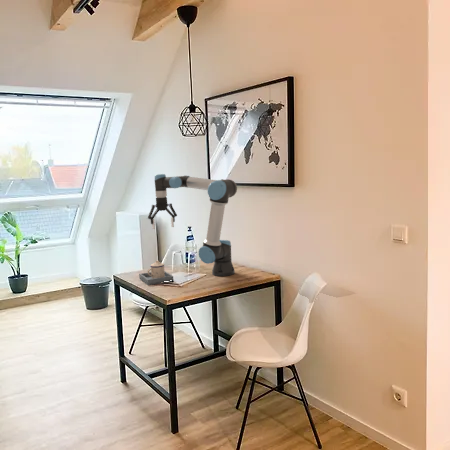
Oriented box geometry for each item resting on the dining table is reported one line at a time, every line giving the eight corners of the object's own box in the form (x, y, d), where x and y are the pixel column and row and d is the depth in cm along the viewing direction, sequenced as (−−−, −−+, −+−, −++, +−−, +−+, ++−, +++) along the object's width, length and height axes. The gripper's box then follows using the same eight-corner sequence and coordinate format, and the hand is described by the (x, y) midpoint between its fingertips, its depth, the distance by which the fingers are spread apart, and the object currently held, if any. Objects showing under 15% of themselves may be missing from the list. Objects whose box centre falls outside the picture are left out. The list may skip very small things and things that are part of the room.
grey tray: (163, 275, 324) (163, 270, 323) (173, 281, 306) (173, 276, 305) (139, 278, 317) (139, 273, 316) (147, 285, 299) (147, 279, 298)
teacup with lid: (160, 275, 318) (159, 258, 317) (167, 277, 311) (166, 260, 310) (144, 279, 311) (143, 261, 310) (151, 281, 304) (150, 263, 302)
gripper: (176, 195, 332) (178, 225, 335) (142, 198, 322) (144, 229, 325) (180, 195, 325) (182, 226, 328) (145, 198, 315) (147, 230, 318)
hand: (163, 227), depth 326 cm, fingers open, 13 cm apart
